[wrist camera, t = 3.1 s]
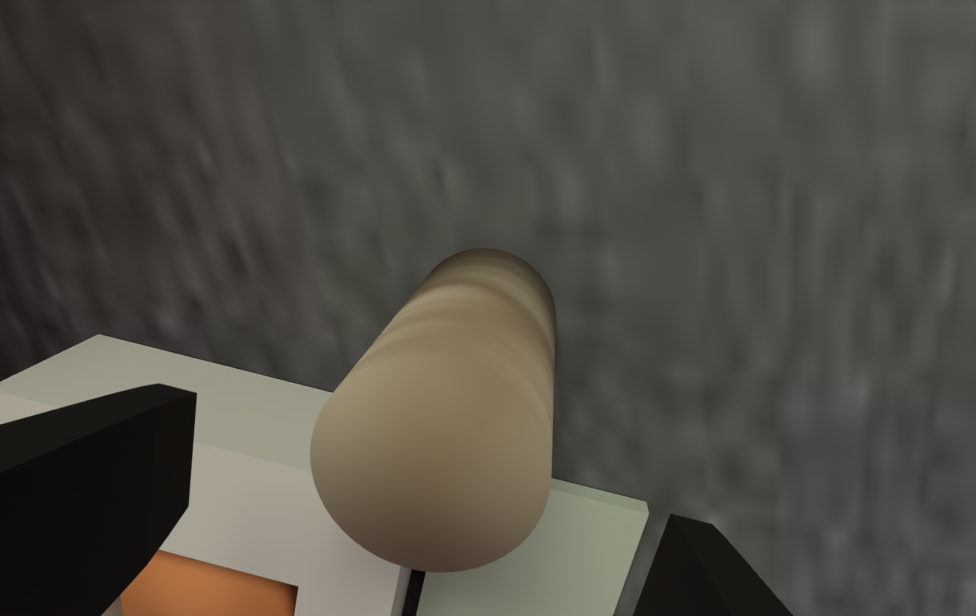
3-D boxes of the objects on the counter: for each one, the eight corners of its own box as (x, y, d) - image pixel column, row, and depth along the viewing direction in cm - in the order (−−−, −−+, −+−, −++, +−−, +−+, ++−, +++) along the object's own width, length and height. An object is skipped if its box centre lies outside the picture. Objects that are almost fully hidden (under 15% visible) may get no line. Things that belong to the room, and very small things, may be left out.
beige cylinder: (404, 363, 19) (296, 538, 11) (429, 233, 17) (326, 329, 10) (537, 396, 18) (519, 597, 11) (572, 267, 17) (580, 392, 10)
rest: (413, 628, 21) (410, 642, 21) (454, 453, 19) (450, 463, 19) (585, 673, 21) (586, 689, 21) (646, 501, 19) (648, 513, 18)
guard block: (92, 651, 24) (2, 755, 20) (98, 334, 19) (-14, 389, 16) (376, 728, 23) (340, 850, 19) (444, 421, 19) (415, 498, 15)
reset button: (142, 627, 20) (118, 658, 19) (149, 500, 19) (123, 525, 18) (290, 667, 20) (274, 701, 19) (310, 542, 19) (293, 570, 18)
